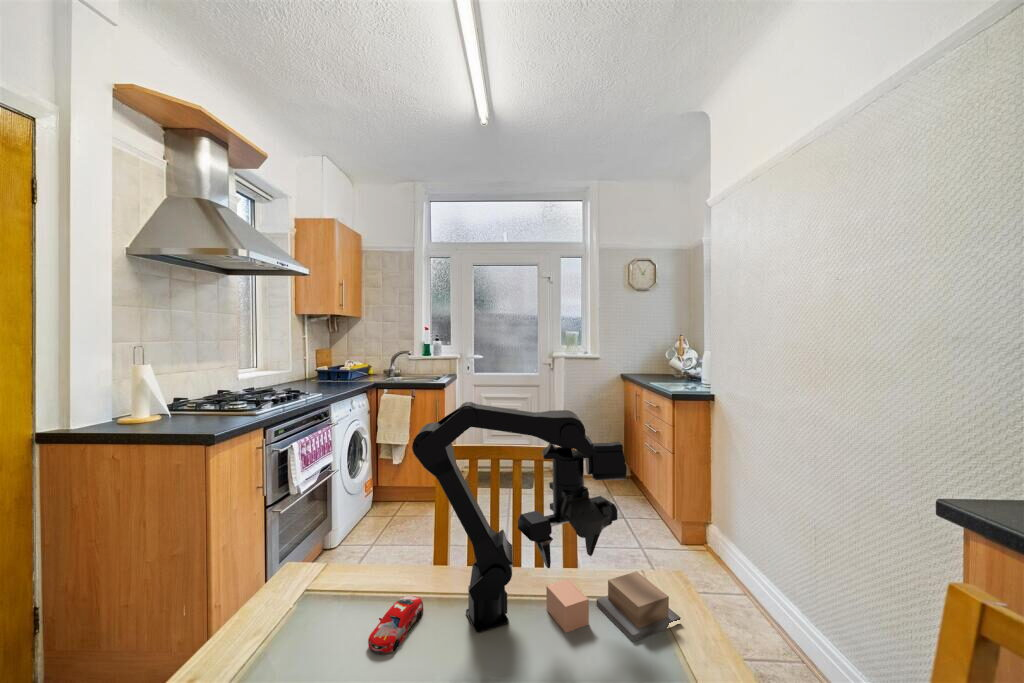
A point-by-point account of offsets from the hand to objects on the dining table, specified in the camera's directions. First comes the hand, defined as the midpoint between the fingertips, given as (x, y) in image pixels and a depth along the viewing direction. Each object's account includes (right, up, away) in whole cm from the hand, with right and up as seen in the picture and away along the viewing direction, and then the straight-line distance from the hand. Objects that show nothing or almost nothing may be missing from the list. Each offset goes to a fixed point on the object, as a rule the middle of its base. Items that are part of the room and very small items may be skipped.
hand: (569, 561), depth 86 cm
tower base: (+13, -11, +1) cm, 17 cm away
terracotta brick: (0, -11, +1) cm, 11 cm away
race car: (-32, -12, -2) cm, 34 cm away
